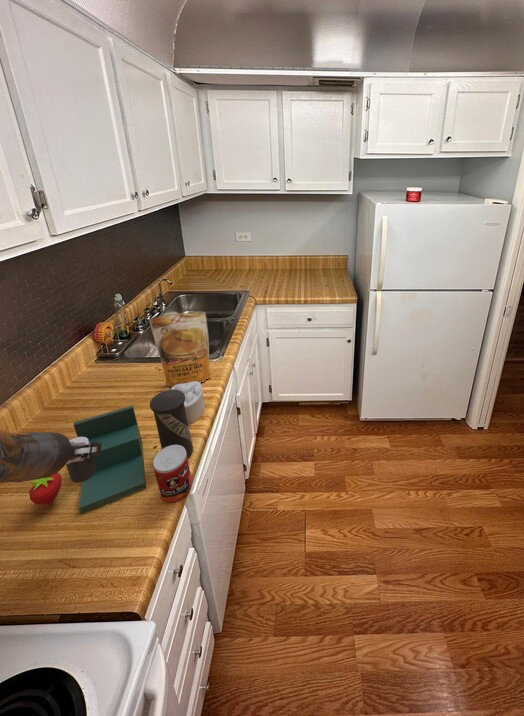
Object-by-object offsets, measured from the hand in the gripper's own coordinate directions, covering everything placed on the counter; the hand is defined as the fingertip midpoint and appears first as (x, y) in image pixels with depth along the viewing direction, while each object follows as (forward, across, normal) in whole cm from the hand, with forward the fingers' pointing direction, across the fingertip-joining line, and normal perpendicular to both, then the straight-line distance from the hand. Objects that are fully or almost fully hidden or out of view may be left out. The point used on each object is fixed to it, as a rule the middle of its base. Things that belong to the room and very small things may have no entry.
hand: (83, 452), depth 72 cm
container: (+26, -14, +3) cm, 29 cm away
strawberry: (+18, +14, +10) cm, 25 cm away
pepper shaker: (+2, 0, +4) cm, 4 cm away
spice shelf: (+22, +2, +6) cm, 23 cm away
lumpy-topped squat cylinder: (+38, -14, -10) cm, 41 cm away
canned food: (+17, -16, +11) cm, 26 cm away
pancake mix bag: (+50, -11, -22) cm, 56 cm away
